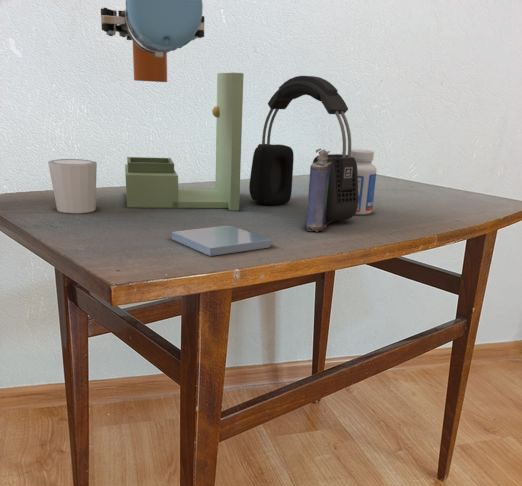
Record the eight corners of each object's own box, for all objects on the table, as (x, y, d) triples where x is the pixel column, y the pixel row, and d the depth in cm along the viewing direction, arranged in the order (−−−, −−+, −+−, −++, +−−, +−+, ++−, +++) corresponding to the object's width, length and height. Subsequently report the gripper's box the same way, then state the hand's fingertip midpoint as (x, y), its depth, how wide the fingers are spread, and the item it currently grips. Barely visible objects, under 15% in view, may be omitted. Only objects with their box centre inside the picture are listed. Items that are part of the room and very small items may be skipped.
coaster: (210, 256, 69) (210, 247, 69) (171, 239, 75) (171, 231, 75) (270, 247, 74) (270, 239, 74) (229, 232, 81) (229, 225, 80)
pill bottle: (362, 208, 102) (369, 149, 98) (377, 215, 97) (385, 152, 93) (333, 208, 100) (339, 148, 96) (347, 215, 95) (354, 152, 91)
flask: (320, 232, 83) (326, 152, 78) (300, 230, 84) (305, 151, 79) (334, 221, 91) (340, 147, 87) (315, 219, 92) (320, 146, 87)
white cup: (79, 203, 94) (76, 157, 91) (109, 209, 90) (106, 162, 87) (42, 208, 89) (37, 160, 86) (72, 216, 85) (68, 165, 82)
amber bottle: (127, 80, 89) (123, -7, 84) (145, 80, 93) (143, -2, 88) (156, 81, 87) (154, -7, 83) (173, 82, 91) (172, -1, 87)
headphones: (244, 201, 102) (248, 74, 94) (274, 198, 106) (280, 76, 98) (329, 226, 86) (342, 75, 78) (360, 222, 90) (376, 77, 81)
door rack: (127, 210, 91) (121, 66, 83) (126, 192, 105) (120, 67, 97) (239, 210, 95) (243, 73, 86) (223, 193, 109) (225, 73, 101)
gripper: (81, 48, 71) (89, 54, 91) (229, 58, 75) (205, 61, 95) (76, -25, 68) (85, -2, 88) (231, -11, 72) (205, 8, 92)
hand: (147, 31), depth 92 cm, fingers closed on amber bottle, 5 cm apart
